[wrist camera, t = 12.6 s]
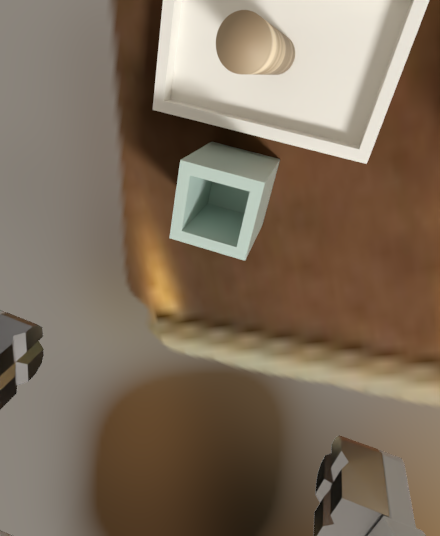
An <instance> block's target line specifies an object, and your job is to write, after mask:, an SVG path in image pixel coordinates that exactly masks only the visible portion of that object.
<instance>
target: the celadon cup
mask: <svg viewBox="0 0 440 536" xmlns="http://www.w3.org/2000/svg"><path fill="white" fill-rule="evenodd" d="M279 161H280V159H278V158H274V157H270V156H266V155H262V154H258V153H254V152H251V151H247V150H243V149H239V148H235V147H231V146H227V145H223V144H220V143H216V142H210V143H208V144H207V145H205V146H203V147H202V148H200V149H198V150H196V151H195V152H193V153H191V154H190V155H188V156H186V157H185V158H183V159H181V160H180V165H179V173H178V180H177V187H176V195H175V202H174V209H173V216H172V224H171V231H170V238H171V239H174V240H178V241H181V242H184V243H188V244H191V245H194V246H198V247H201V248H204V249H208V250H211V251H214V252H218V253H221V254H224V255H228V256H231V257H234V258H238V259H241V260H244V261H245V260H246V258H247V256H248V254H249V252H250V250H251V247H252V245H253V243H254V241H255V239H256V237H257V235H258V233H259V231H260V229H261V227H262V224H263V221H264V217H265V213H266V210H267V206H268V202H269V198H270V195H271V191H272V187H273V183H274V180H275V176H276V172H277V168H278V165H279Z"/></svg>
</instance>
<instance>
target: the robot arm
mask: <svg viewBox="0 0 440 536" xmlns="http://www.w3.org/2000/svg"><path fill="white" fill-rule="evenodd" d="M42 337H43V330H42V327H41V326H39V325H37V324H35V323H32V322H30V321H27V320H25V319H22V318H20V317H17V316H15V315H12V314H10V313H7V312H4V311H1V310H0V409H1V408H3V407H4V406H5V404H6V403H8V402H9V401H10V399H11V398H12V397H13V396H14V395H15V394H16V393H17V385H20V384H22V383H25V382H28V381H29V380H30V379H31V378H32V377H33V376H34V375H35V374H36V372H37V371H38V369H39V367H40V365H41V363H42V360H43V356H44V354H43V348H42V346H41V344H40V343H39V340H40V339H41V338H42ZM315 494H316V496H317V498H318V500H319V502H320V504H319V506H318V507H317V509H316V511H315V512H314V535H313V536H426V535H425V534H424V532H423V531H421V530H419V529H417V528H416V527H415V521H414V516H413V510H412V504H411V500H410V493H409V488H408V482H407V477H406V471H405V465H404V462H403V460H402V458H400V457H397V456H394V455H392V454H389V453H386V452H383V451H381V450H378V449H376V448H373V447H370V446H367V445H364V444H362V443H359V442H356V441H353V440H350V439H348V438H345V437H342V436H337V437H336V438H335V439H334V441H333V443H332V445H331V453H330V454H328V455H325V457H324V459H323V460H322V462H321V465H320V468H319V471H318V474H317V481H316V492H315ZM0 536H12V535H10V534H8V533H6V532H3V531H1V530H0Z"/></svg>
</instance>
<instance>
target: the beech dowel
mask: <svg viewBox="0 0 440 536" xmlns="http://www.w3.org/2000/svg"><path fill="white" fill-rule="evenodd" d="M216 51H217V55H218V58H219V60H220V62H221V63H222V65H223V66H224V67H225V68H226V69H227V70H229V71H231V72H233V73H235V74H253V75H279V74H282V73H284V72H286V71H287V70H288V69H289V68H290V67H291V66H292V64H293V62H294V59H295V47H294V45H293V43H292V41H291V40H290V39H289V38H288V37H287V36H285V35H284V34H283V33H282V32H280V31H279V30H278V29H276V28H275V27H274V26H272V25H271V24H270V23H269V22H267V21H266V20H265V19H263V18H262V17H261V16H259V15H258V14H257V13H255V12H253V11H250V10H239V11H236V12H233V13H232V14H230V15H229V16H227V17H226V18H225V19H224V21H223V22H222V23H221V25H220V27H219V29H218V32H217V36H216Z"/></svg>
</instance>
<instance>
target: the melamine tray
mask: <svg viewBox="0 0 440 536" xmlns="http://www.w3.org/2000/svg"><path fill="white" fill-rule="evenodd" d="M428 3H429V0H163V4H162V15H161V25H160V36H159V46H158V57H157V68H156V78H155V89H154V99H153V110H155V111H159V112H163V113H167V114H171V115H175V116H179V117H183V118H187V119H191V120H195V121H199V122H203V123H207V124H211V125H215V126H219V127H223V128H226V129H230V130H234V131H238V132H242V133H246V134H250V135H254V136H258V137H262V138H266V139H270V140H274V141H278V142H282V143H286V144H290V145H294V146H298V147H302V148H306V149H310V150H314V151H318V152H322V153H325V154H329V155H333V156H337V157H341V158H345V159H349V160H353V161H357V162H361V163H365V164H367V162H368V159H369V157H370V154H371V151H372V149H373V146H374V144H375V141H376V138H377V136H378V133H379V130H380V128H381V125H382V123H383V120H384V117H385V115H386V112H387V110H388V107H389V104H390V102H391V99H392V97H393V94H394V91H395V89H396V86H397V83H398V81H399V78H400V76H401V73H402V70H403V68H404V65H405V63H406V60H407V57H408V55H409V52H410V50H411V47H412V44H413V42H414V39H415V36H416V34H417V31H418V29H419V26H420V23H421V21H422V18H423V16H424V13H425V10H426V8H427V5H428ZM239 10H250V11H253V12H255V13H257V14H258V15H259V16H261V17H262V18H263V19H265V20H266V21H267V22H269V23H270V24H271V25H272V26H274V27H275V28H276V29H278V30H279V31H280V32H282V33H283V34H284V35H285V36H287V37H288V38H289V39H290V40H291V41H292V43H293V45H294V47H295V59H294V62H293V64H292V66H291V67H290V68H289V69H288V70H287V71H286V72H284V73H282V74H279V75H253V74H235V73H233V72H231V71H229V70H227V69H226V68H225V67H224V66H223V65H222V63H221V62H220V60H219V58H218V55H217V51H216V36H217V32H218V29H219V27H220V25H221V23H222V22H223V21H224V19H225V18H226V17H227V16H229V15H230V14H232V13H233V12H236V11H239Z"/></svg>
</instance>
